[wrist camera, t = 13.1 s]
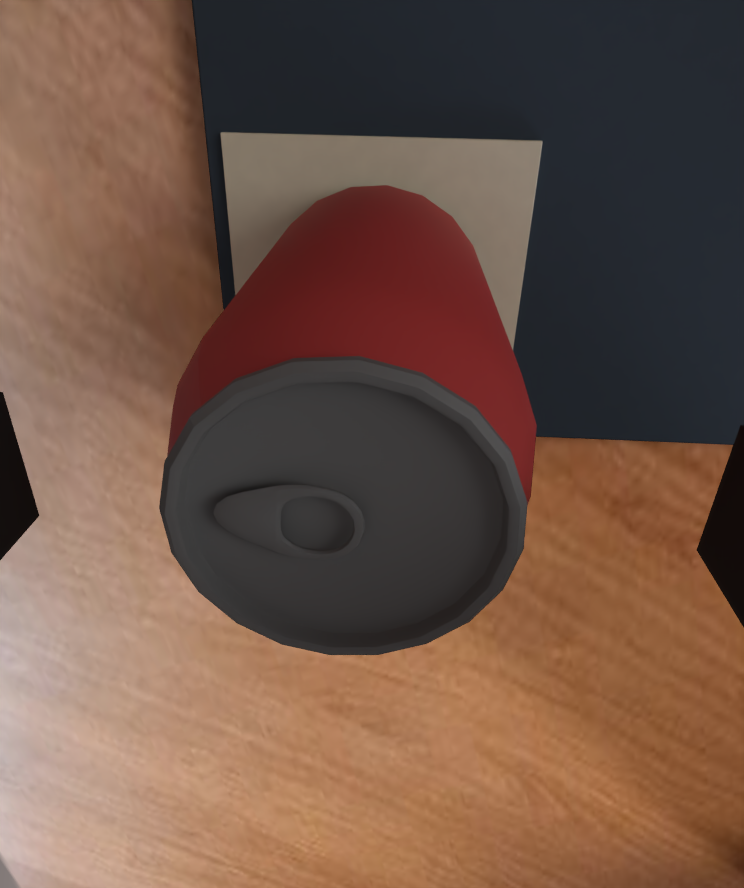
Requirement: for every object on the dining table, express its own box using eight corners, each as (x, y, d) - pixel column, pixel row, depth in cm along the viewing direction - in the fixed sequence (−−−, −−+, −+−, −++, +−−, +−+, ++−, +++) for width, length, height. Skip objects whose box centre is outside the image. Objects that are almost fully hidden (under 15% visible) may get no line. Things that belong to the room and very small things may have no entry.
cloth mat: (1133, -163, 14) (1169, -175, 14) (849, 442, 23) (863, 453, 22) (180, -173, 15) (169, -184, 14) (238, 416, 23) (233, 427, 23)
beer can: (273, 168, 18) (96, 295, 8) (501, 195, 18) (624, 355, 8) (269, 376, 21) (141, 659, 11) (461, 398, 22) (511, 699, 11)
